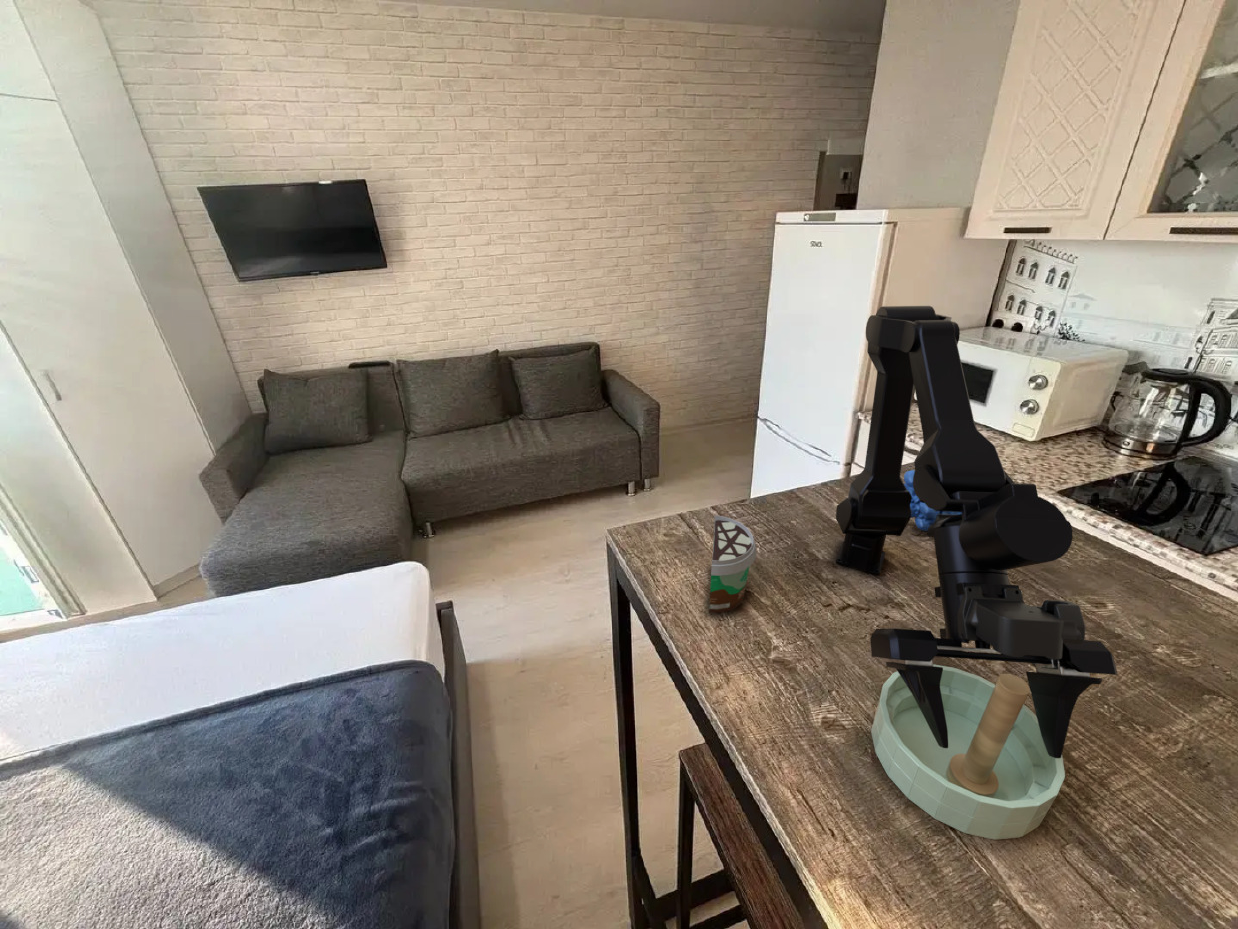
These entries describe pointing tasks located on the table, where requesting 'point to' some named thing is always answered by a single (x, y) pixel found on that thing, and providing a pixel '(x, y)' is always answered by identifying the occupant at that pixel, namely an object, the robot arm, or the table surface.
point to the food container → (730, 563)
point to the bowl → (923, 763)
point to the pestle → (989, 738)
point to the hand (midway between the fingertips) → (998, 752)
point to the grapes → (921, 506)
